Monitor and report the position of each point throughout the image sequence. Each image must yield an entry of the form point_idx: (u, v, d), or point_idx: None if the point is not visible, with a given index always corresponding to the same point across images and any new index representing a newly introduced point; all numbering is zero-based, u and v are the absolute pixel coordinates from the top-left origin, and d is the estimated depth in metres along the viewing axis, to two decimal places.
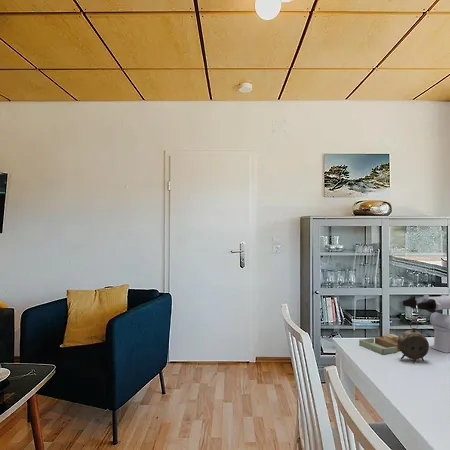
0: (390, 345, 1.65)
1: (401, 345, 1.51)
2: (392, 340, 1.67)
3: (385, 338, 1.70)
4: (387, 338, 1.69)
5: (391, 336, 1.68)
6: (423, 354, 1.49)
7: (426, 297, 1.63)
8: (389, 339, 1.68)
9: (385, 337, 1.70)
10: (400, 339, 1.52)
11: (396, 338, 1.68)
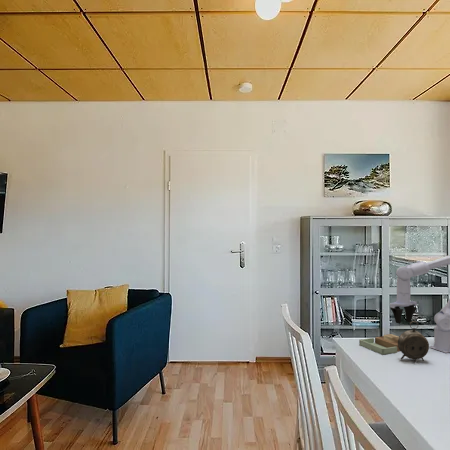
0: (390, 345, 1.65)
1: (401, 345, 1.51)
2: (392, 340, 1.67)
3: (385, 338, 1.70)
4: (387, 338, 1.69)
5: (391, 336, 1.68)
6: (423, 354, 1.49)
7: None
8: (389, 339, 1.68)
9: (385, 337, 1.70)
10: (400, 339, 1.52)
11: (396, 338, 1.68)
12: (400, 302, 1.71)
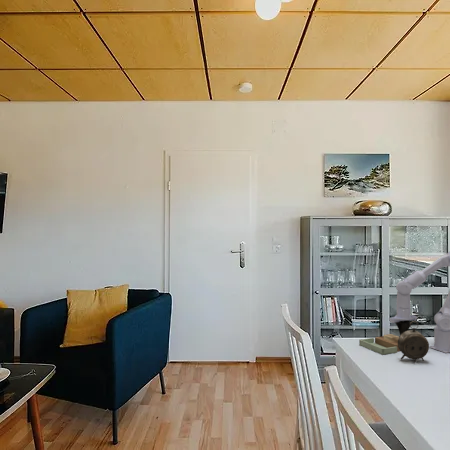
0: (390, 345, 1.65)
1: (401, 345, 1.51)
2: (392, 340, 1.67)
3: (385, 338, 1.70)
4: (387, 338, 1.69)
5: (391, 336, 1.68)
6: (423, 354, 1.49)
7: None
8: (389, 339, 1.68)
9: (385, 337, 1.70)
10: (400, 339, 1.52)
11: (396, 338, 1.68)
12: (400, 317, 1.70)
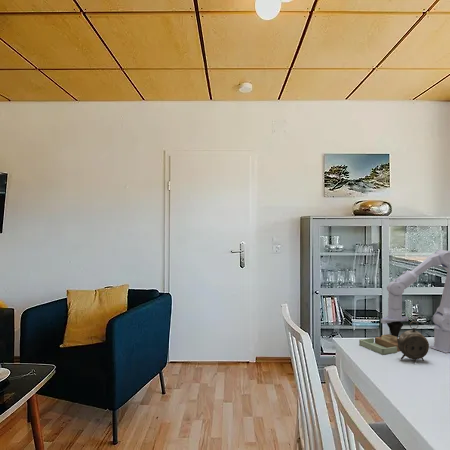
0: (390, 345, 1.65)
1: (401, 345, 1.51)
2: (390, 340, 1.66)
3: (383, 338, 1.69)
4: (385, 339, 1.68)
5: (389, 336, 1.68)
6: (423, 354, 1.49)
7: None
8: (387, 339, 1.67)
9: (383, 337, 1.69)
10: (400, 339, 1.52)
11: (394, 338, 1.67)
12: (391, 318, 1.69)
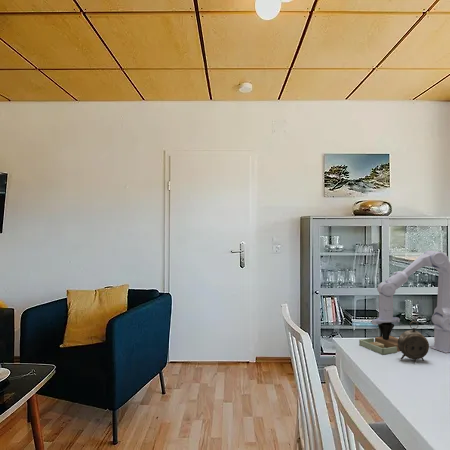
0: (390, 345, 1.65)
1: (401, 345, 1.51)
2: (383, 346, 1.65)
3: None
4: None
5: None
6: (423, 354, 1.49)
7: None
8: None
9: None
10: (400, 339, 1.52)
11: None
12: (382, 319, 1.67)
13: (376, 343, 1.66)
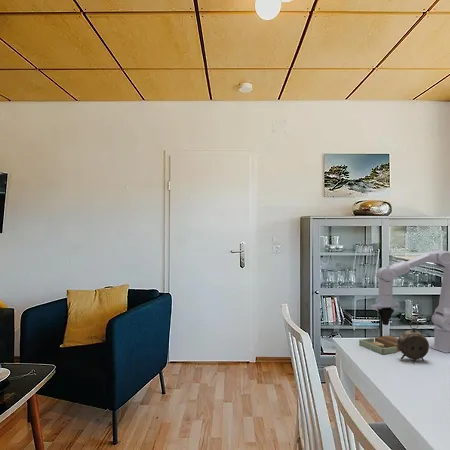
0: (390, 345, 1.65)
1: (401, 345, 1.51)
2: (383, 346, 1.65)
3: None
4: None
5: None
6: (423, 354, 1.49)
7: None
8: None
9: None
10: (400, 339, 1.52)
11: None
12: (382, 304, 1.66)
13: (376, 343, 1.66)
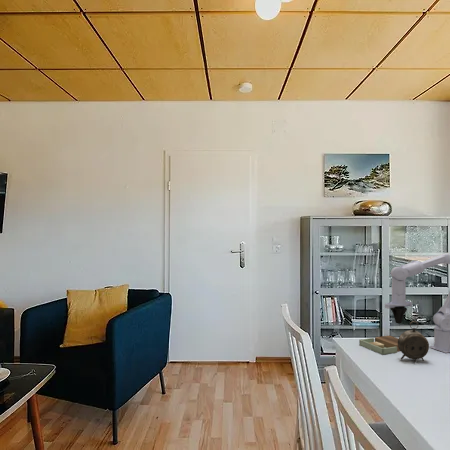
0: (390, 345, 1.65)
1: (401, 345, 1.51)
2: (383, 346, 1.65)
3: None
4: None
5: None
6: (423, 354, 1.49)
7: None
8: None
9: None
10: (400, 339, 1.52)
11: None
12: (395, 302, 1.69)
13: (376, 343, 1.66)
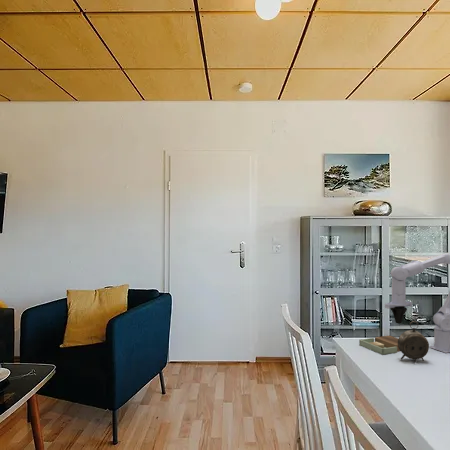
0: (390, 345, 1.65)
1: (401, 345, 1.51)
2: (383, 346, 1.65)
3: None
4: None
5: None
6: (423, 354, 1.49)
7: None
8: None
9: None
10: (400, 339, 1.52)
11: None
12: (395, 302, 1.69)
13: (376, 343, 1.66)
